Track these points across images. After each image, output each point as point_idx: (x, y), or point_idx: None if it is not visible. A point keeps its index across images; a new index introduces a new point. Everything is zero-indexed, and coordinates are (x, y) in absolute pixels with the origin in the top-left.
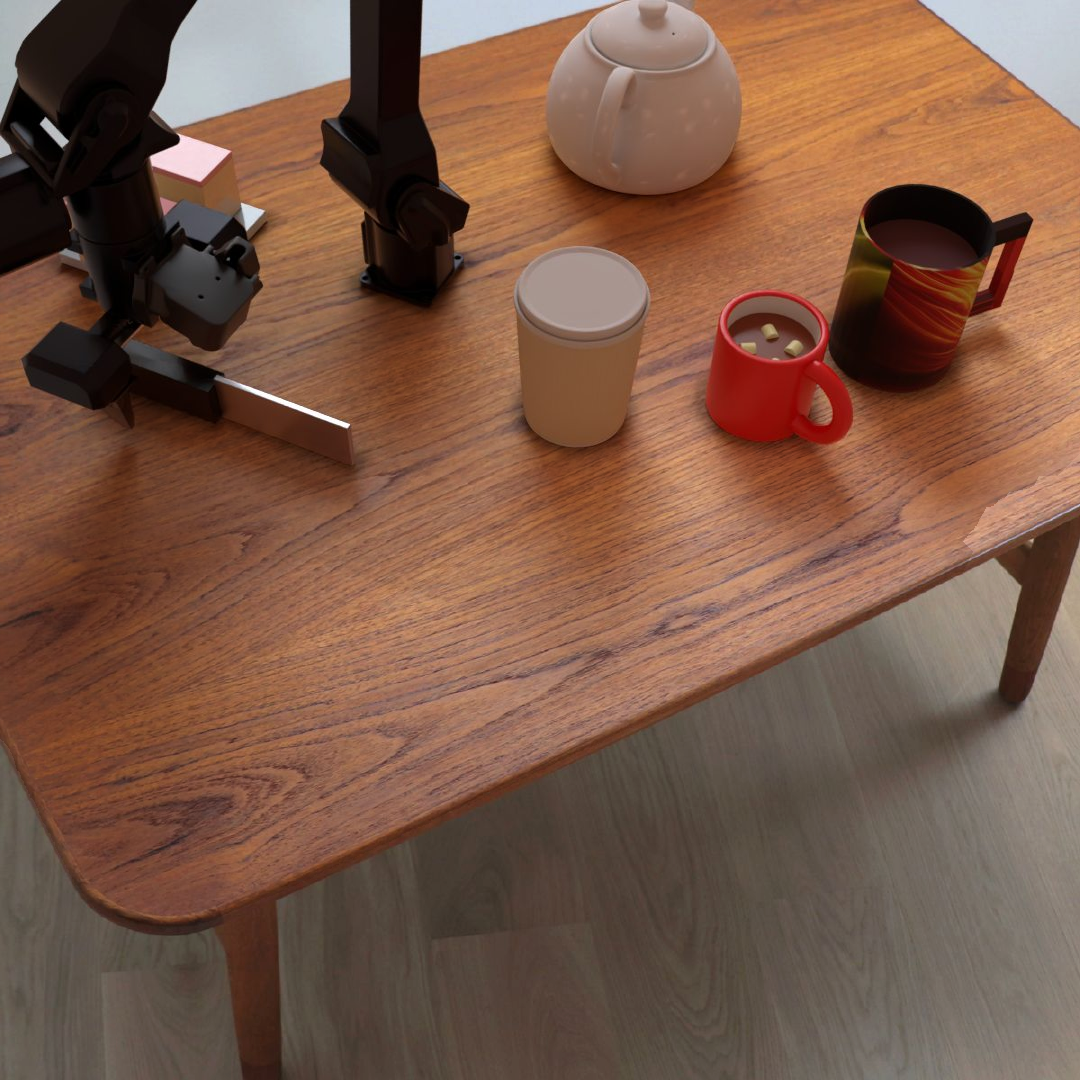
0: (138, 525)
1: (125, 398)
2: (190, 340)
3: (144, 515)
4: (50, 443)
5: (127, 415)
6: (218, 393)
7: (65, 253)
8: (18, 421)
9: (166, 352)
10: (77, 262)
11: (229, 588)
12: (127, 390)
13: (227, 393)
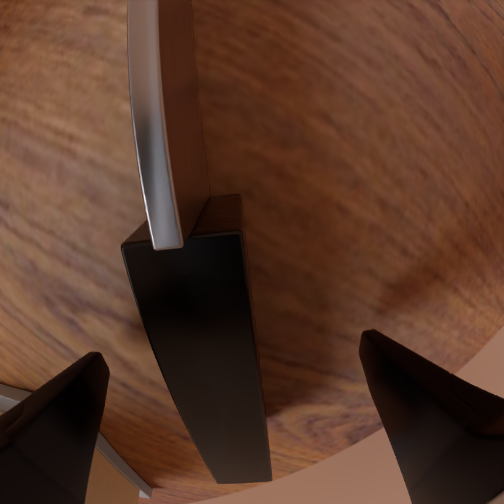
0: (499, 174)
1: (454, 396)
2: (107, 381)
3: (487, 177)
4: None
5: (413, 356)
6: (195, 212)
7: (146, 496)
8: (375, 427)
9: (185, 419)
10: (143, 488)
11: (494, 2)
12: (457, 415)
13: (186, 170)
